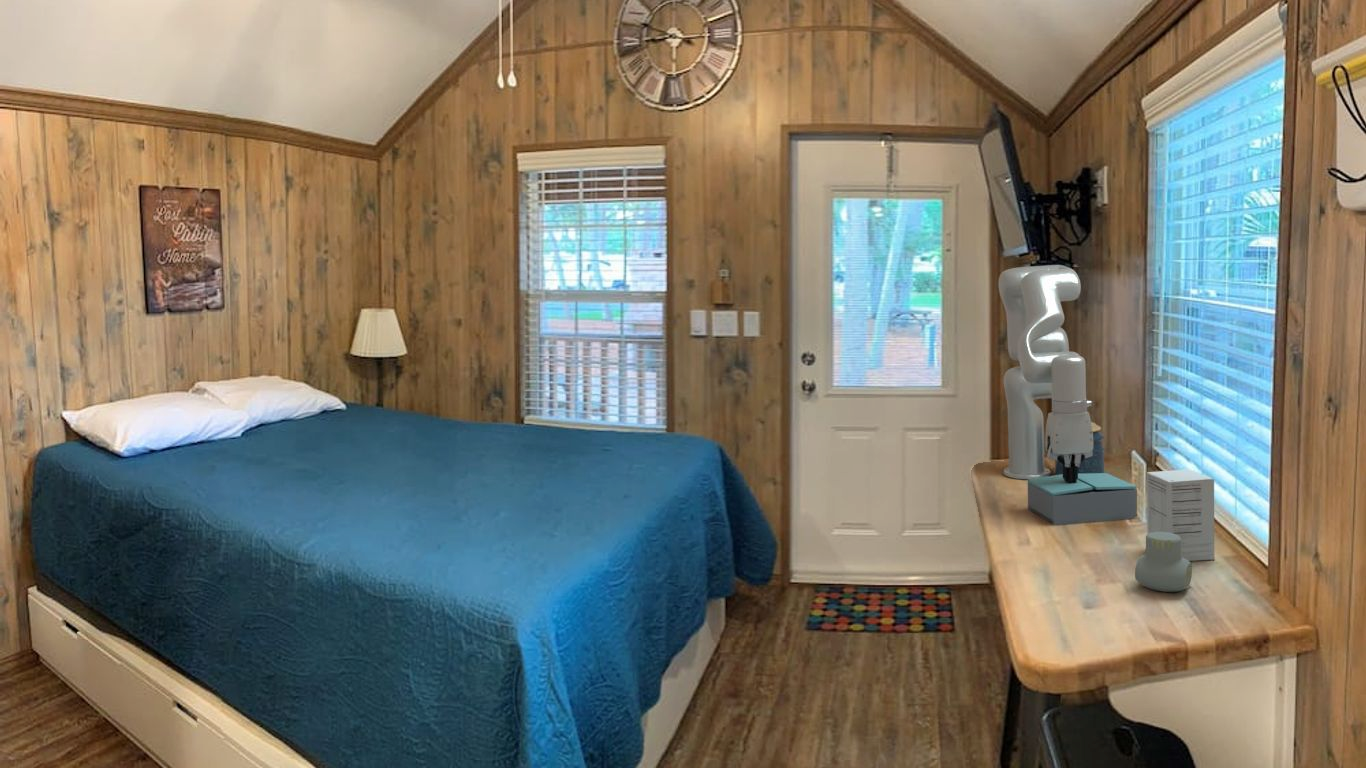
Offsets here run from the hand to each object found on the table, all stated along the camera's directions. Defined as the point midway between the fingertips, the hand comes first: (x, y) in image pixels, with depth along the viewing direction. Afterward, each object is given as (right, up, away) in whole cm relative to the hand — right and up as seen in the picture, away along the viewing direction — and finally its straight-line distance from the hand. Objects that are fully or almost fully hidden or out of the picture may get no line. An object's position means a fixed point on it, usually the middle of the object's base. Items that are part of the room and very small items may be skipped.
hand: (1070, 481), depth 211 cm
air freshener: (-3, -15, -46) cm, 49 cm away
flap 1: (-2, -1, 0) cm, 3 cm away
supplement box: (+9, -12, -30) cm, 34 cm away
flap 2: (+8, 0, +1) cm, 8 cm away
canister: (+18, -3, +35) cm, 39 cm away
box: (+3, -8, +2) cm, 9 cm away
